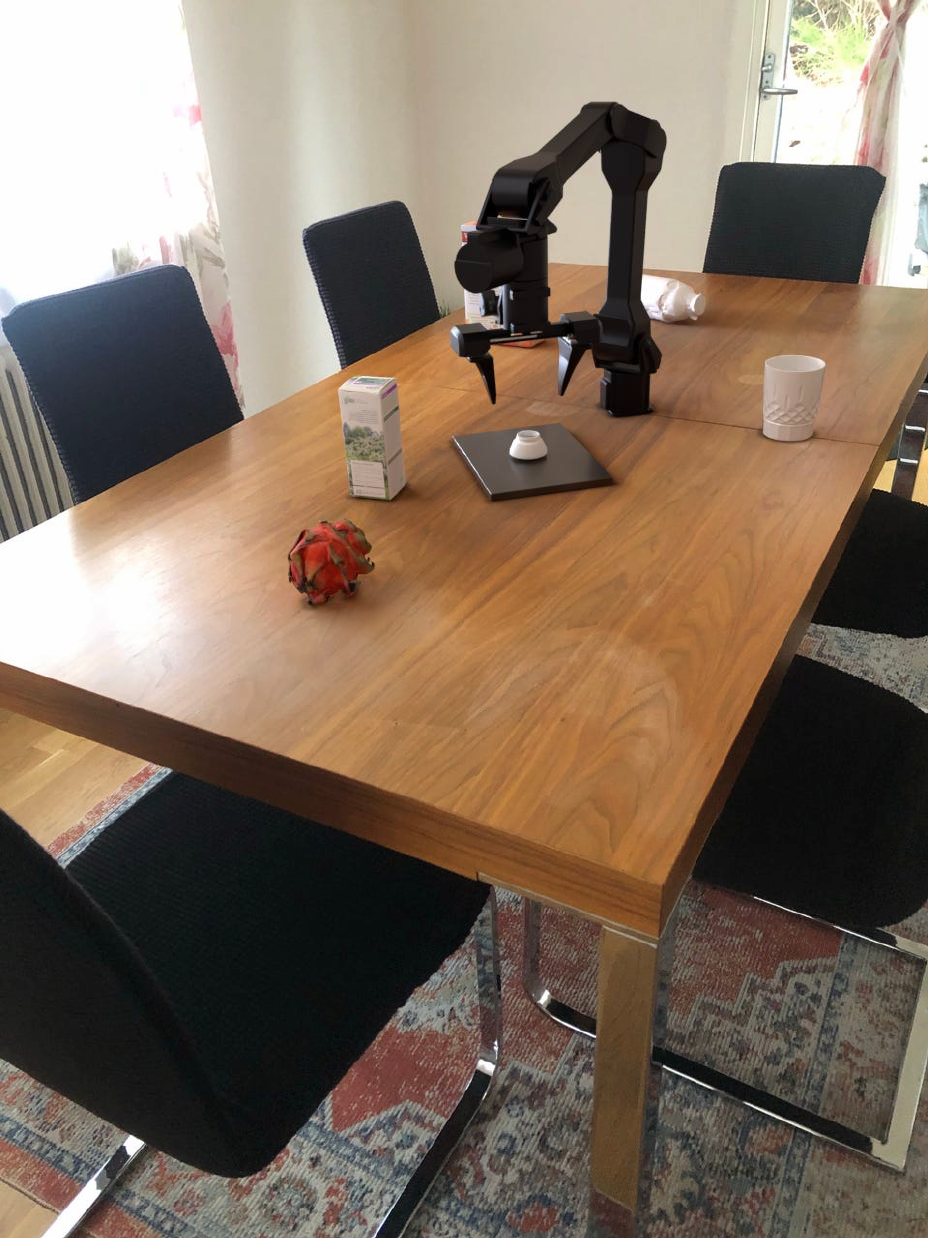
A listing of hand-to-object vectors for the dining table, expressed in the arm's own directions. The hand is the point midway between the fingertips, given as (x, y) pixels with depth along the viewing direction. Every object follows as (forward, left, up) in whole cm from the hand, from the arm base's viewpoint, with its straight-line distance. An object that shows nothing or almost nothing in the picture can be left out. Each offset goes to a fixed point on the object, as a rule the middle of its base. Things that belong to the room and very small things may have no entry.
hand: (527, 399), depth 136 cm
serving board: (0, 0, -9) cm, 9 cm away
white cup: (-37, +2, -9) cm, 38 cm away
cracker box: (-13, -60, -9) cm, 62 cm away
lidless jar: (0, 0, -8) cm, 8 cm away
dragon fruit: (+30, +29, -9) cm, 43 cm away
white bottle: (-45, -64, -9) cm, 78 cm away
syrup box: (+21, +3, -9) cm, 23 cm away
